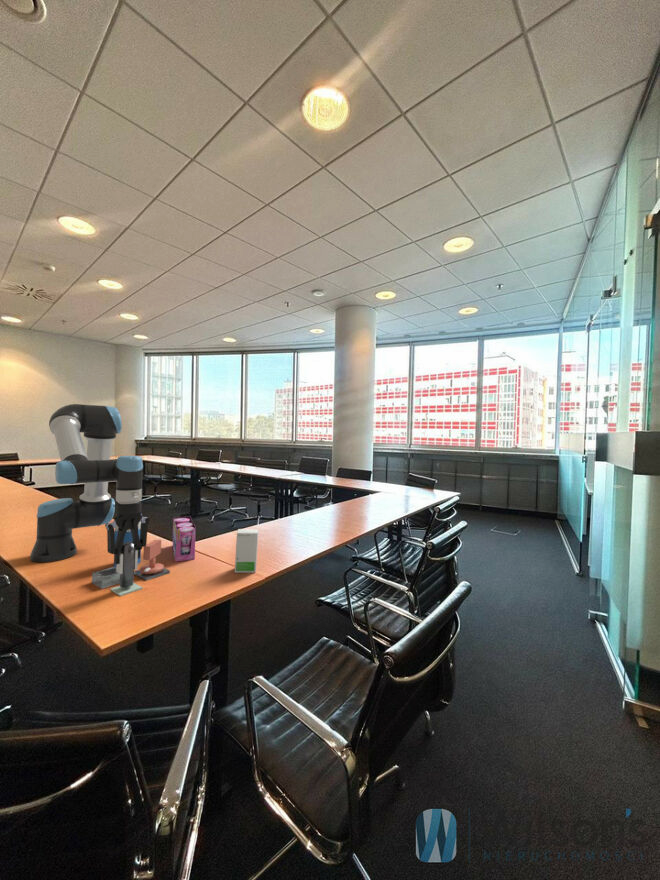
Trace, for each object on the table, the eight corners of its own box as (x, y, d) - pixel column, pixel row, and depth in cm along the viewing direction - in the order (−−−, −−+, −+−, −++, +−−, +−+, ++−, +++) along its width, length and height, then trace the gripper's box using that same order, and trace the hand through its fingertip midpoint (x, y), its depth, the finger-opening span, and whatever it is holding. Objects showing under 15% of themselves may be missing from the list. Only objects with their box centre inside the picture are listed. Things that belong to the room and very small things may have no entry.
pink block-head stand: (147, 565, 134) (148, 539, 134) (167, 566, 134) (168, 540, 133) (134, 574, 125) (135, 546, 125) (156, 575, 125) (157, 547, 125)
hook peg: (117, 585, 116) (118, 543, 115) (129, 581, 119) (131, 541, 119) (125, 590, 112) (126, 547, 112) (138, 585, 116) (139, 544, 115)
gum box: (195, 560, 145) (196, 528, 144) (175, 563, 141) (176, 530, 141) (190, 543, 166) (190, 515, 166) (172, 545, 162) (172, 517, 162)
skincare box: (234, 573, 133) (235, 533, 132) (236, 566, 139) (237, 528, 139) (256, 572, 134) (257, 532, 134) (257, 566, 140) (258, 528, 140)
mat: (110, 590, 115) (110, 588, 115) (132, 583, 121) (132, 581, 121) (120, 596, 111) (120, 594, 111) (142, 588, 117) (142, 587, 117)
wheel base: (133, 574, 129) (133, 570, 129) (157, 567, 136) (157, 563, 136) (145, 580, 123) (146, 577, 123) (169, 572, 131) (169, 569, 131)
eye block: (91, 582, 120) (92, 572, 120) (116, 575, 127) (116, 566, 127) (101, 589, 116) (101, 578, 116) (126, 581, 122) (126, 571, 122)
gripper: (105, 507, 107) (103, 582, 107) (159, 499, 121) (157, 566, 121) (95, 503, 111) (93, 575, 111) (148, 497, 125) (146, 561, 125)
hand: (127, 570), depth 116 cm, fingers closed on hook peg, 4 cm apart
